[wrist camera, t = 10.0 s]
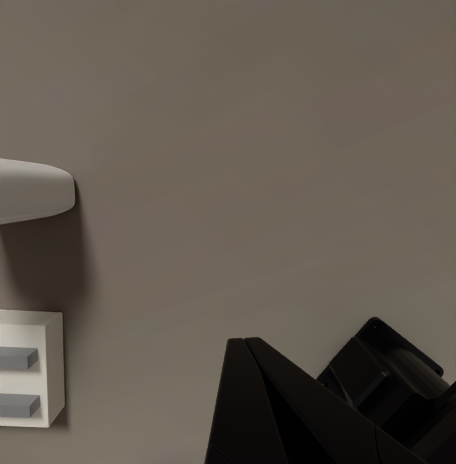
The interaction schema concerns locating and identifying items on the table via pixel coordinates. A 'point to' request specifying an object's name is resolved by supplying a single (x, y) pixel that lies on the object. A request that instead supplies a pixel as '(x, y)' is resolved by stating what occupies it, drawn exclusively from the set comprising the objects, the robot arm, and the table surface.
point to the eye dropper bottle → (33, 191)
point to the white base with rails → (31, 368)
